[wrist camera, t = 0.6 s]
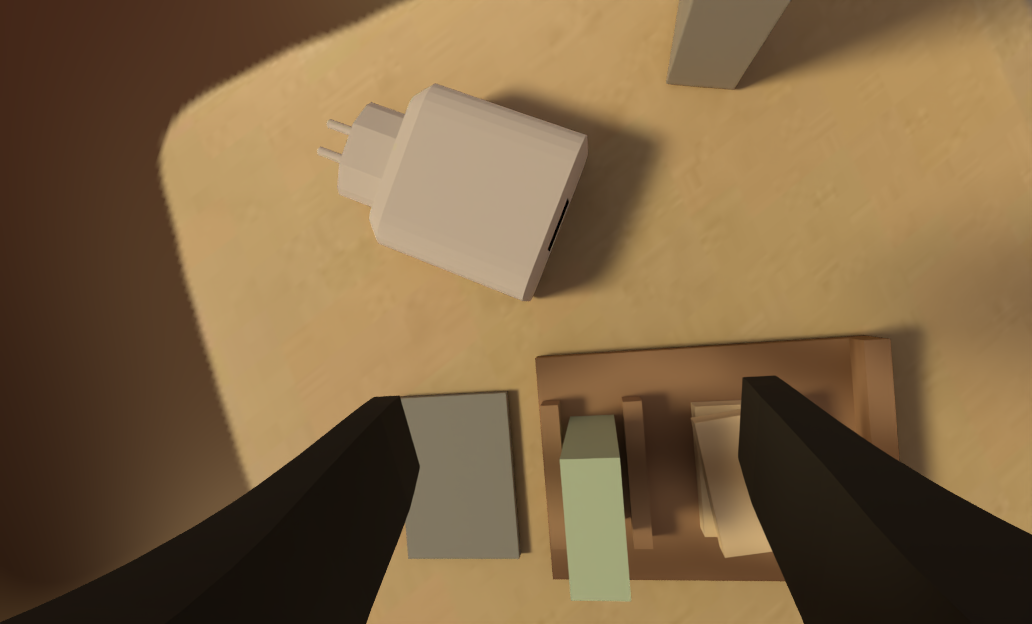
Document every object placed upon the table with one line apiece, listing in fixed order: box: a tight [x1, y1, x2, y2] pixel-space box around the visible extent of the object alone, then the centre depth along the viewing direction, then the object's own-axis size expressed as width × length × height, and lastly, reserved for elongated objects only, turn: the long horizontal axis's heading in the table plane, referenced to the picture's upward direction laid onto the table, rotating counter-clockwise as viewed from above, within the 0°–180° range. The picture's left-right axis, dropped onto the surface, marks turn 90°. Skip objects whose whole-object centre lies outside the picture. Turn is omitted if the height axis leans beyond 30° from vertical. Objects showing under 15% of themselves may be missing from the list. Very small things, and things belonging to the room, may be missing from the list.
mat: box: [400, 391, 521, 559], centre depth 31 cm, size 10×7×1 cm
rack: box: [535, 335, 899, 581], centre depth 28 cm, size 13×18×2 cm
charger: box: [317, 84, 588, 301], centre depth 29 cm, size 5×9×15 cm
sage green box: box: [560, 415, 631, 601], centre depth 25 cm, size 6×2×8 cm, turn 5°
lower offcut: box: [691, 400, 741, 537], centre depth 27 cm, size 7×5×1 cm
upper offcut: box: [691, 409, 772, 558], centre depth 26 cm, size 7×5×1 cm
